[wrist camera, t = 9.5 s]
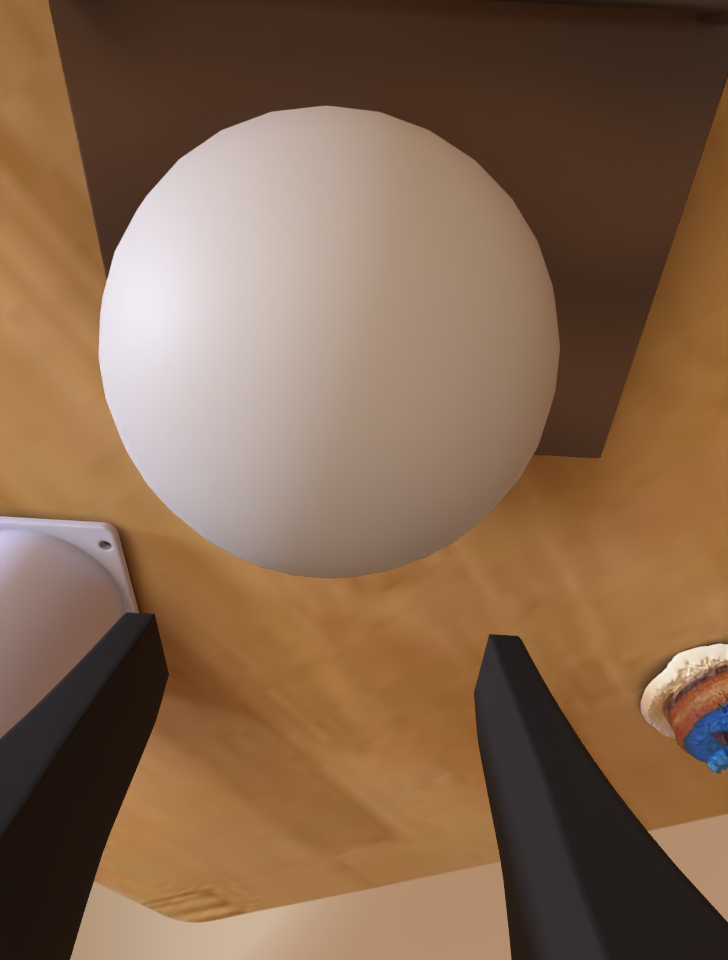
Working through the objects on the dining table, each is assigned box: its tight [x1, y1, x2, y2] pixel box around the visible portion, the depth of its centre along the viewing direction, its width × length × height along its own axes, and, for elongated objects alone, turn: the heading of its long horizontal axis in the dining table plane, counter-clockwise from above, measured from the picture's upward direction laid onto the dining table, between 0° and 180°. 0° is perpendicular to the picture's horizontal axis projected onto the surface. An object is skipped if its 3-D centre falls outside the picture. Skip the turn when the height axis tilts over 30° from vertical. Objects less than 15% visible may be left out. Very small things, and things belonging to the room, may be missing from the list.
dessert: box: [640, 643, 728, 774], centre depth 28 cm, size 8×7×6 cm
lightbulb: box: [99, 106, 560, 578], centre depth 10 cm, size 6×6×11 cm
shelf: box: [49, 0, 728, 458], centre depth 15 cm, size 12×15×4 cm
